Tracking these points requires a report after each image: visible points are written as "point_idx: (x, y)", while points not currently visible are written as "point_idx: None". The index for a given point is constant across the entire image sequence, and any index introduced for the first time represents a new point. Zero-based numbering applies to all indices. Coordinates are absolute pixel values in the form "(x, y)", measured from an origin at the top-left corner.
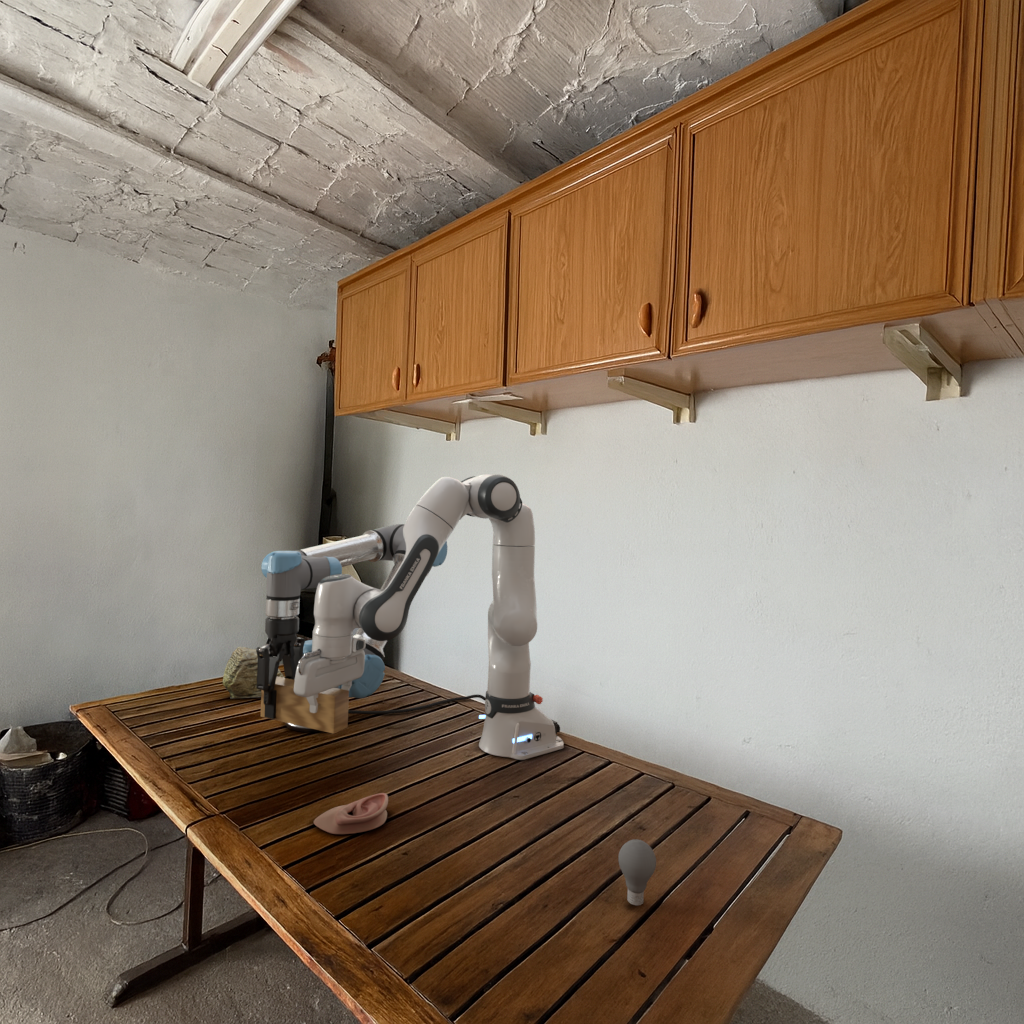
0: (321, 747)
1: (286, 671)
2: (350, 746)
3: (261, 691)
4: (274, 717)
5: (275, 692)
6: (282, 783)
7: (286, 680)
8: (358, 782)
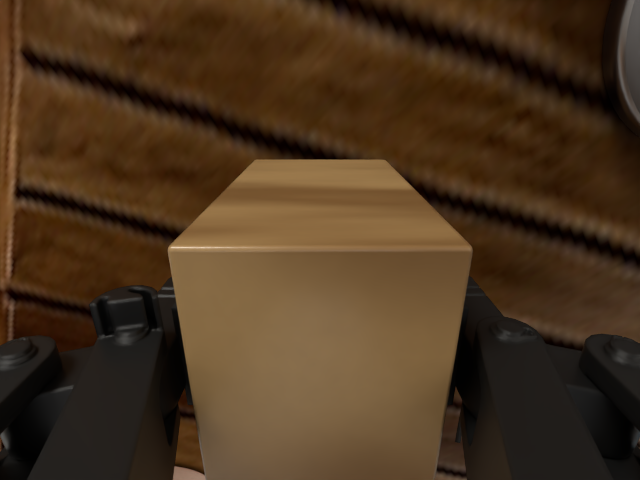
0: (482, 230)
1: (491, 468)
2: (523, 300)
3: (210, 205)
4: None
5: None
6: None
7: (367, 448)
8: None
